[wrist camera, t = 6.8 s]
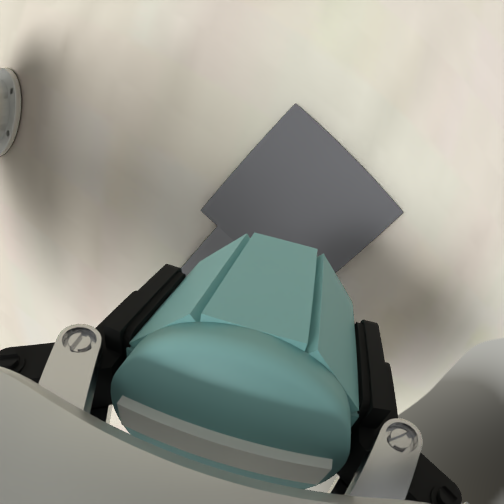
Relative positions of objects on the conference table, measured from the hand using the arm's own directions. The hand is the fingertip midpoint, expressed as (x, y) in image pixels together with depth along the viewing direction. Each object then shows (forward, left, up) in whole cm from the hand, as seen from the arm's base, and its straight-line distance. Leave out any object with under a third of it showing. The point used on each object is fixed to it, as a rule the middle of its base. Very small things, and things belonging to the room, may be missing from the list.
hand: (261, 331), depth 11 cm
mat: (0, 0, -16) cm, 16 cm away
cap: (0, 0, -1) cm, 1 cm away
